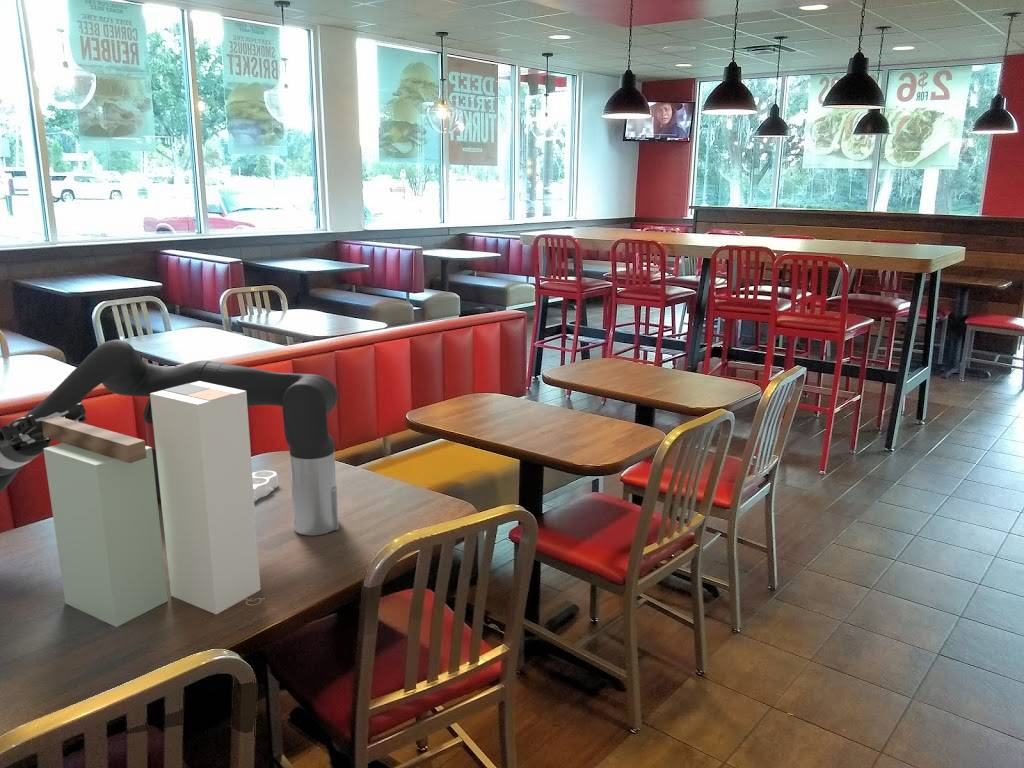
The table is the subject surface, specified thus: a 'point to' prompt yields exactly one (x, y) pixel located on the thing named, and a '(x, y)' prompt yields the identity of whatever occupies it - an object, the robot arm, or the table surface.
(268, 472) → the white brass knuckles
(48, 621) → the table surface
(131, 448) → the bar
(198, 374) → the robot arm
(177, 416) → the stand
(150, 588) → the step
